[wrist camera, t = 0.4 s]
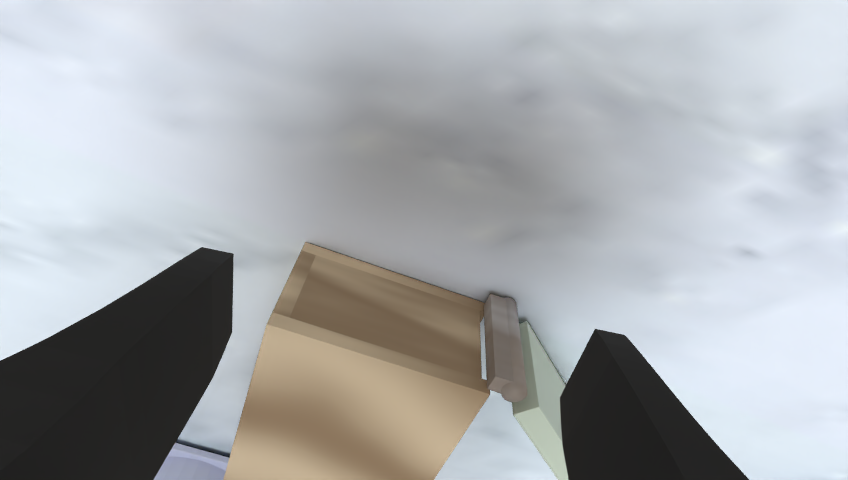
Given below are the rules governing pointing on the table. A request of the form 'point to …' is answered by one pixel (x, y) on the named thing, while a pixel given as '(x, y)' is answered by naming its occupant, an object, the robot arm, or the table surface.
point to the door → (541, 403)
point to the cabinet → (370, 374)
